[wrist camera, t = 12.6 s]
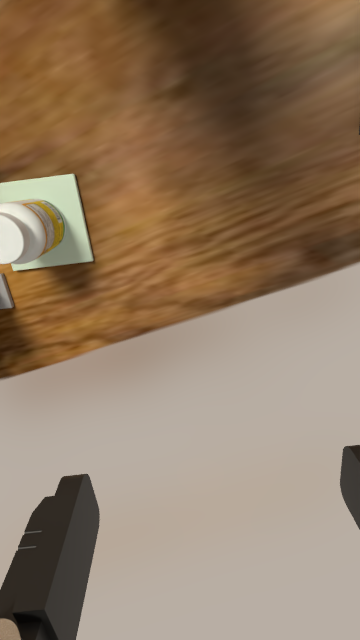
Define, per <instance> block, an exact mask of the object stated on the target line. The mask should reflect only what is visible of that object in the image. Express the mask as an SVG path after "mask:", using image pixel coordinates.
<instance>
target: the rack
mask: <svg viewBox="0 0 360 640" xmlns="http://www.w3.org/2000/svg"><path fill="white" fill-rule="evenodd" d="M12 307H14V304H13V301H12V297H11V294H10V291H9V288H8V285H7V282H6V279H5V276H4V273H2V274H0V309H5V308H12Z"/></svg>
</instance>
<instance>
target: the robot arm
mask: <svg viewBox="0 0 360 640" xmlns="http://www.w3.org/2000/svg"><path fill="white" fill-rule="evenodd" d="M340 486H341V492H342V495H343V498H344V501H345V503H346V505H347V507H348V509H349V511H350V512H351V514H352V516H353V518H354V520H355V522H356V524H357V525H358V527H359V529H360V445H355V446H346V447H344V449H343V456H342V466H341V478H340ZM98 529H99V508H98V504H97V500H96V497H95V494H94V490H93V487H92V484H91V480H90V477H89V475H88V474H81V475H73V476H64V477H62V478H61V480H60V482H59V485H58V488H57V491H56V493H55V496H50V497H45V498H44V499H43V500H42V502H41V503H40V504H39V505H38V507H37V508H36V509H35V510H34V511H33V513H32V515H31V517H30V519H29V522H28V524H27V527H26V529H25V534H24V535H23V536H22V539H21V541H20V544H19V546H18V551H16V553H15V556H14V558H13V560H12V563H11V565H10V568H9V570H8V573H7V575H6V577H5V580H4V582H3V585H2V587H1V590H0V640H76V636H77V631H78V626H79V621H80V617H81V611H82V607H83V602H84V597H85V592H86V588H87V583H88V578H89V573H90V568H91V563H92V558H93V554H94V549H95V544H96V539H97V534H98Z"/></svg>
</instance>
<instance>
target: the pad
mask: <svg viewBox="0 0 360 640" xmlns="http://www.w3.org/2000/svg"><path fill="white" fill-rule="evenodd" d="M28 199H43V200H46V201H48V202H50V203H52V204H53V205H55V206H56V207H57V208H58V209H59V211H60V212H61V213H62V215H63V217H64V220H65V224H66V233H65V236H64V239H63V241H62V242H61V243H60V244H59V245H58V246H56V247H55V248H54V249H52V250H50V251H49V252H47V253H45V254H44V255H42V256H40V257H39V258H37V259H35V260H33V261H31V262H29V263H25V264H12V263H11V265H12V268H13V271H17V270H25V269H33V268H41V267H49V266H57V265H66V264H74V263H82V262H90V261H93V260H94V258H93V254H92V249H91V245H90V240H89V236H88V231H87V227H86V222H85V217H84V213H83V208H82V204H81V199H80V195H79V190H78V186H77V181H76V177H75V174H68V175H60V176H52V177H45V178H37V179H29V180H21V181H13V182H6V183H0V204H1V203H6V202H14V201H21V200H28Z"/></svg>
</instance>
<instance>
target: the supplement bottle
mask: <svg viewBox="0 0 360 640" xmlns="http://www.w3.org/2000/svg"><path fill="white" fill-rule="evenodd" d="M65 233H66V224H65V220H64V217H63V215H62V213H61V212H60V211H59V209H58V208H57V207H56V206H55V205H53V204H52V203H50V202H48V201H46V200H43V199H28V200H21V201H14V202H6V203H1V204H0V264H8V263H12V264H25V263H29V262H31V261H33V260H35V259H37V258H39V257H40V256H42V255H44V254H45V253H47V252H49V251H50V250H52V249H54V248H55V247H56V246H58V245H59V244H60V243H61V242H62V241H63V239H64V236H65Z"/></svg>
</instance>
